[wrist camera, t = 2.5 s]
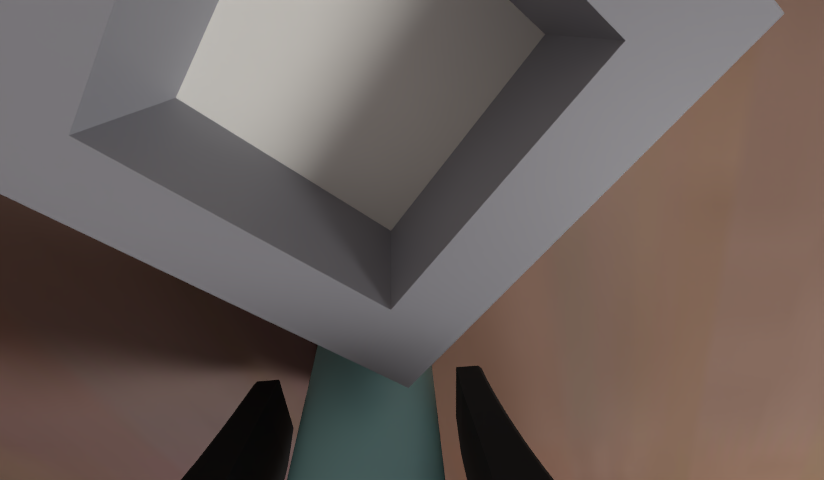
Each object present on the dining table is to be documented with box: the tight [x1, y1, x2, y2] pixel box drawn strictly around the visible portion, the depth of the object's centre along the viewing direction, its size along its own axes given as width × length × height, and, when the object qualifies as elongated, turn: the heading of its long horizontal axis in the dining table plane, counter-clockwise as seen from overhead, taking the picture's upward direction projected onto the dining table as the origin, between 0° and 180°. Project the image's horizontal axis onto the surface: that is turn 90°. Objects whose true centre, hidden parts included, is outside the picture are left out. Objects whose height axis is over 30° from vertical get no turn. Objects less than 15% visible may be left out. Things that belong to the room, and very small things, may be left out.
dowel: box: [287, 345, 445, 480], centre depth 10 cm, size 4×4×7 cm
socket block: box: [0, 0, 784, 388], centre depth 7 cm, size 11×9×4 cm
